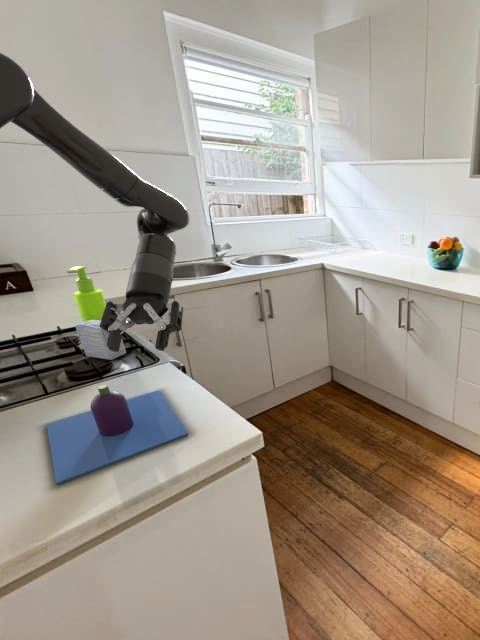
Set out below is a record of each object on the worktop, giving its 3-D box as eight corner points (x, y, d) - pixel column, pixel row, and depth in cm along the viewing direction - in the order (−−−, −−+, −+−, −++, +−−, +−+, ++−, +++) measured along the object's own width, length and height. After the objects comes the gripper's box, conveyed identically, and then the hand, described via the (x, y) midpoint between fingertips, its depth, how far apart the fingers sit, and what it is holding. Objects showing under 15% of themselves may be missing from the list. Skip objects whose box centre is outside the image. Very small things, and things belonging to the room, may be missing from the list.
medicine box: (127, 353, 98) (117, 322, 94) (111, 361, 94) (100, 328, 90) (102, 349, 100) (92, 318, 96) (85, 357, 96) (74, 325, 92)
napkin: (47, 425, 70) (46, 423, 70) (159, 391, 82) (158, 390, 82) (57, 485, 57) (56, 483, 57) (188, 434, 69) (188, 432, 69)
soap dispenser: (82, 343, 103) (56, 270, 95) (96, 333, 109) (73, 264, 101) (106, 342, 104) (83, 269, 96) (119, 332, 110) (98, 263, 102)
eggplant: (93, 437, 67) (77, 395, 63) (110, 420, 71) (96, 380, 68) (124, 435, 67) (109, 393, 64) (139, 419, 72) (126, 379, 68)
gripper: (103, 270, 77) (84, 344, 72) (178, 270, 79) (165, 342, 73) (125, 288, 84) (109, 357, 79) (193, 288, 86) (183, 355, 80)
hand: (136, 350), depth 76 cm, fingers open, 8 cm apart
